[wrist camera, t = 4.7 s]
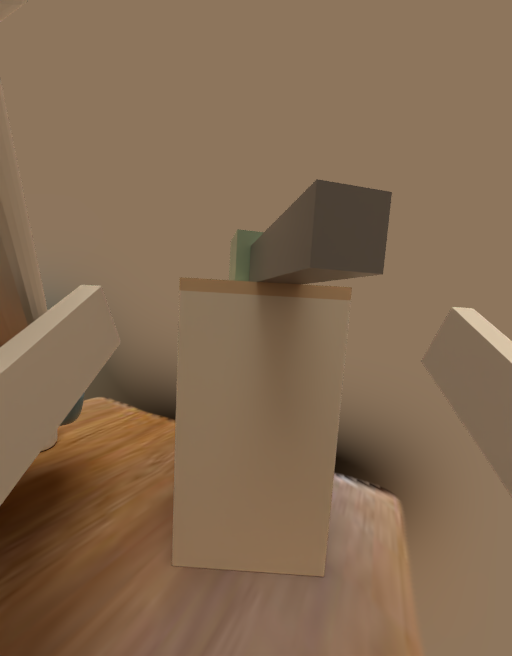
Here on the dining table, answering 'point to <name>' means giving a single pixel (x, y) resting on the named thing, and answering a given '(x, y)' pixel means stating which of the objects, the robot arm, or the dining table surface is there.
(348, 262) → the bar
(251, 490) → the pedestal
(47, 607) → the dining table surface
